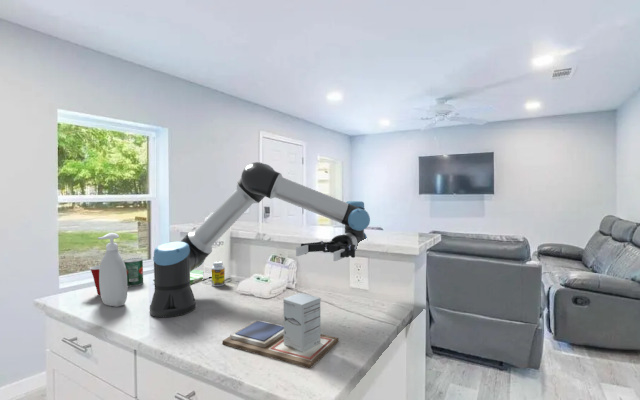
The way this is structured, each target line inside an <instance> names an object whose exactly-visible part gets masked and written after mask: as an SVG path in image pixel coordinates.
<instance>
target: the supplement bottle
mask: <svg viewBox="0 0 640 400" xmlns="http://www.w3.org/2000/svg"><path fill="white" fill-rule="evenodd" d="M225 271H226V270H225V266H224V265H223V261H220V260H219V262H217V261H214V262H213V266H212V267H211V272H212V278H211V286H212V287H222V286H224V285H225V284H226V281H225V279H226V278H225V277H226V276H225V274H226V273H225Z"/></svg>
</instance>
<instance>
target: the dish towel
mask: <svg viewBox="0 0 640 400" xmlns="http://www.w3.org/2000/svg"><path fill="white" fill-rule="evenodd" d="M203 271H204V270H198V269H194V270H192V271H191V272H190V285H192V284H193V285H194V284H195V283H200V282H202V281H203V280H202V279H203ZM152 281H153V282H154V283H153V284H155V280H154V278H153V279H152Z"/></svg>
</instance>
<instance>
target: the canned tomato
mask: <svg viewBox="0 0 640 400" xmlns="http://www.w3.org/2000/svg"><path fill="white" fill-rule="evenodd" d="M123 260H124V263H125V266H126V272H127V287H136V286H137V287H138V286H141V285H143V284H144V268H143V267H144V266H143V265H144V264H143V263H144V262H143V260H144V259H143V258H141V257H140V258H139V257H137V258H135V257H134V258H128V259H123Z"/></svg>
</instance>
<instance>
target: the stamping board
mask: <svg viewBox="0 0 640 400" xmlns="http://www.w3.org/2000/svg"><path fill="white" fill-rule="evenodd" d="M338 343H339V337H335V336H331V335H326V334H322V333H320V344H318V345H316V346H314V347H312V348H310V349H309V350H307V351H305V352H301V351H299V350H297V349H295V348H292V347H290V346H288V345H284V325H281V324H276V323H272V322H267V321H263V320H259V319H256V320H254V321H253V322H251V323H250V324H248V325H245V326H244V327H241V328H240V329H239V330H237V331H235V332H233V333H231V334H230V335H229V336H228V337H227V338H225V339H223V340H222V345H225V346H228V347H230V348H231V347H232V348H235V349H239V350H242V351H246V352H250V353H253V354H257V355H260V356H264V357H268V358H271V359H274V360H278V361H281V362H285V363H289V364H293V365H296V366H300V367H303V368H307V369H311V368H312V367H313V366H315V365H316V364H317V363H318V362H319V361H320V359H322V358H323V357H324V356H325V355H326V354H327V353H328V352H329V351H330V350H331V349H332V348H333V347H334V346H335V345H337V344H338Z"/></svg>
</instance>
